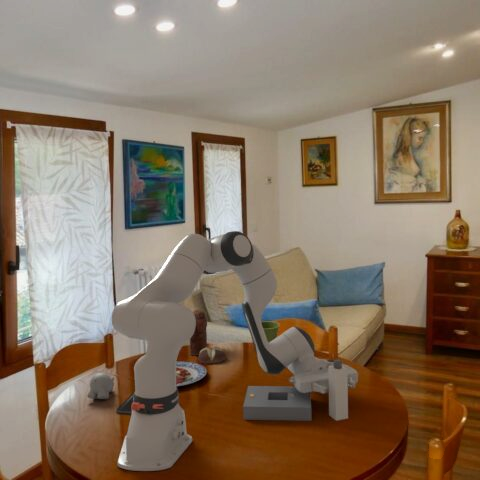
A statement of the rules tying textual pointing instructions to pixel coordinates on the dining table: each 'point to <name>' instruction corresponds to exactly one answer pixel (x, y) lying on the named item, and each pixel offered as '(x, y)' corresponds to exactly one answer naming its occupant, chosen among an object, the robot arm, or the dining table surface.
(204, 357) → the bread
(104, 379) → the chubby cartoon animal
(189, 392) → the dining table surface
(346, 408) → the white square bottle
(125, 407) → the phone
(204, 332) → the wooden figurine
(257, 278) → the robot arm
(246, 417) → the block
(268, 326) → the plant pot
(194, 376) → the ceramic plate
